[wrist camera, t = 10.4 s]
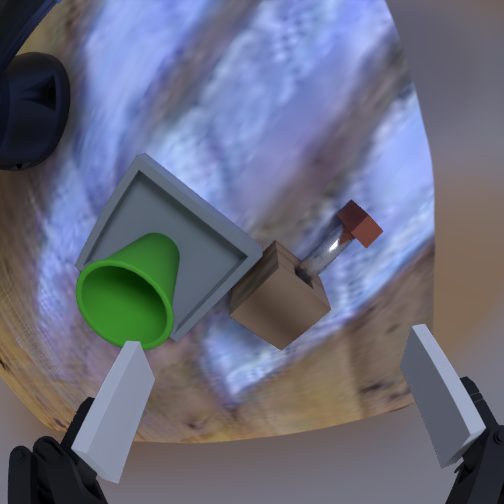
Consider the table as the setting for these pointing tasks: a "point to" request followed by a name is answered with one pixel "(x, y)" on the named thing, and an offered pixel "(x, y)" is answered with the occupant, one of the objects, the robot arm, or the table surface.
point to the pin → (340, 240)
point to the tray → (174, 237)
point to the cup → (132, 292)
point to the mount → (277, 298)
